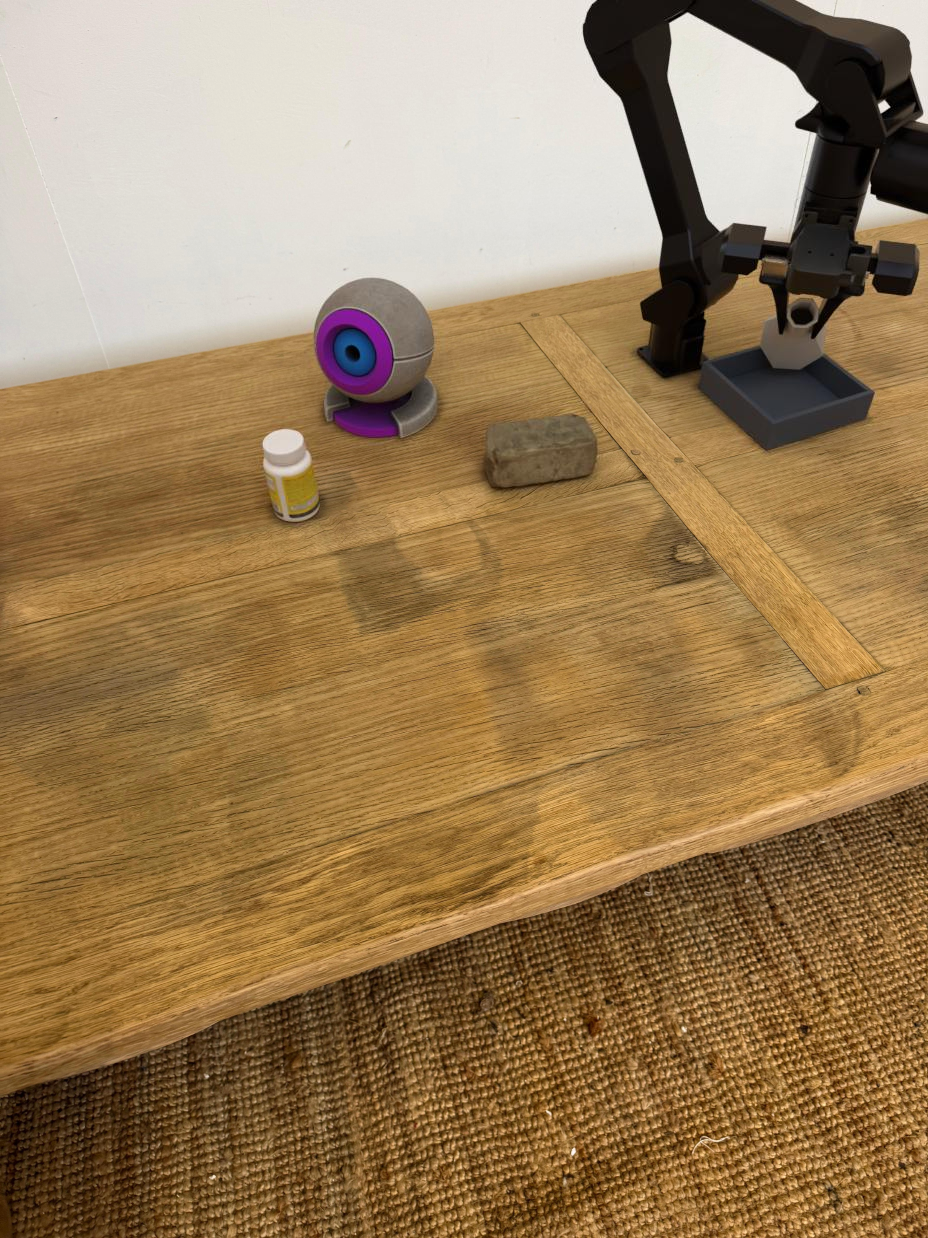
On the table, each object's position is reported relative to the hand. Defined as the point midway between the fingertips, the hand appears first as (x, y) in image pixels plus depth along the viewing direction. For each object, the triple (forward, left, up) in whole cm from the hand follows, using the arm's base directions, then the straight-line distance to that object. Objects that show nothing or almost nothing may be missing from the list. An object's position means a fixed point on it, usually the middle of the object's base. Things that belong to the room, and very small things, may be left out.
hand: (796, 334), depth 100 cm
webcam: (-19, -41, -9) cm, 46 cm away
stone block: (-1, -30, -9) cm, 31 cm away
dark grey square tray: (0, 0, -9) cm, 9 cm away
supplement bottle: (-6, -55, -9) cm, 56 cm away
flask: (-4, +4, -4) cm, 7 cm away
